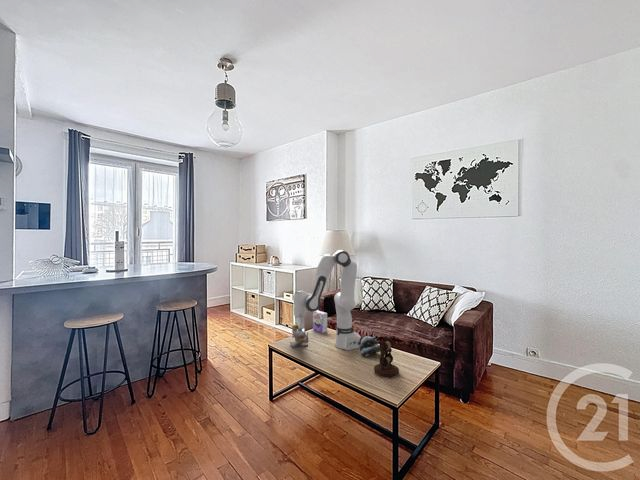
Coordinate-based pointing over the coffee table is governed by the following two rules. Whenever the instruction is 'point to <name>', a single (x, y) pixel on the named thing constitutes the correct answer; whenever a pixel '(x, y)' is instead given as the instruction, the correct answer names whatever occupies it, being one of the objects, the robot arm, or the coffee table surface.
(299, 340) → the grey gold rectangular frame
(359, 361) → the coffee table surface
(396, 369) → the brown statuette
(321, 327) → the candy box
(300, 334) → the rider
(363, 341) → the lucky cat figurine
